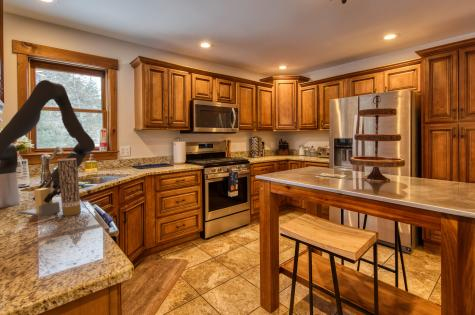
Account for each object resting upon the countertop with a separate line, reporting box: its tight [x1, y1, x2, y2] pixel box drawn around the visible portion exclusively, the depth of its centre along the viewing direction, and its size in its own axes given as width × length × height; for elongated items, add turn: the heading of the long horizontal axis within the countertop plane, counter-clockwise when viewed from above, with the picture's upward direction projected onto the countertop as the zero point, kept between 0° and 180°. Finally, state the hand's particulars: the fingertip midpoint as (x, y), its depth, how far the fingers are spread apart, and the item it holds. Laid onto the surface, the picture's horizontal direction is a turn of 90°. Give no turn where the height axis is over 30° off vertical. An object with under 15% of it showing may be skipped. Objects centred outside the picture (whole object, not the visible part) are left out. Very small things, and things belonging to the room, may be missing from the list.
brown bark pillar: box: [57, 157, 82, 217], centre depth 109 cm, size 7×7×25 cm
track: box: [18, 201, 61, 217], centre depth 113 cm, size 18×7×5 cm, turn 67°
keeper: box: [33, 188, 53, 214], centre depth 111 cm, size 4×4×11 cm
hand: (40, 201), depth 110 cm, fingers open, 8 cm apart
